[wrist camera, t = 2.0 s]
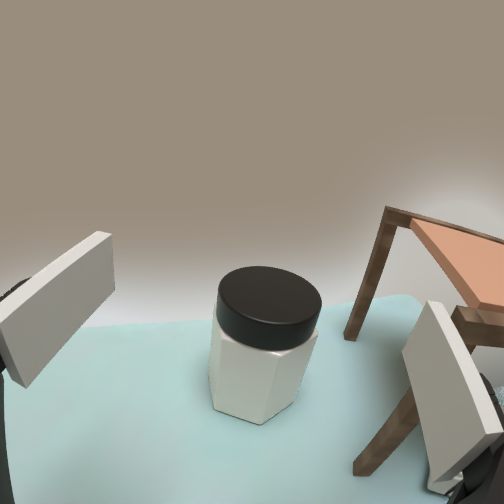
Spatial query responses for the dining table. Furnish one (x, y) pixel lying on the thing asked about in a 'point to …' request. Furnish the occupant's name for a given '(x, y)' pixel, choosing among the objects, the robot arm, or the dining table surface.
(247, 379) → the jar
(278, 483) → the dining table surface
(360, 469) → the trapdoor frame
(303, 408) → the dining table surface
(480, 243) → the trapdoor
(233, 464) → the dining table surface
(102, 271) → the robot arm
